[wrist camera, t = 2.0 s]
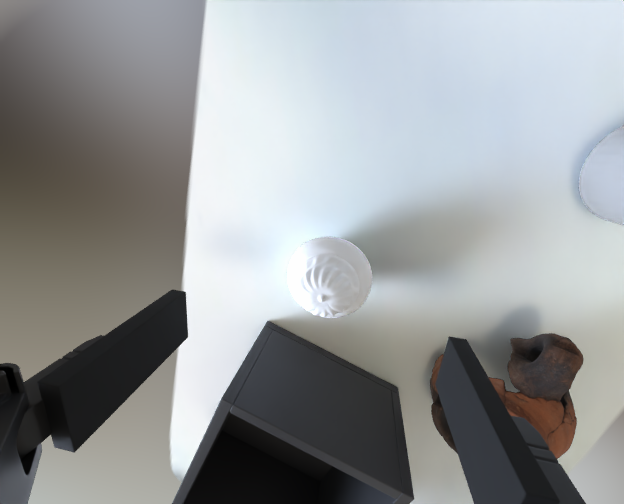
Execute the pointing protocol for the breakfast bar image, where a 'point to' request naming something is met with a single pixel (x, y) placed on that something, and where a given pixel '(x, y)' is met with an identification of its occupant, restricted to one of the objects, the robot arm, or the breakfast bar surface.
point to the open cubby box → (301, 433)
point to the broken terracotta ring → (532, 389)
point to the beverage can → (605, 178)
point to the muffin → (329, 277)
